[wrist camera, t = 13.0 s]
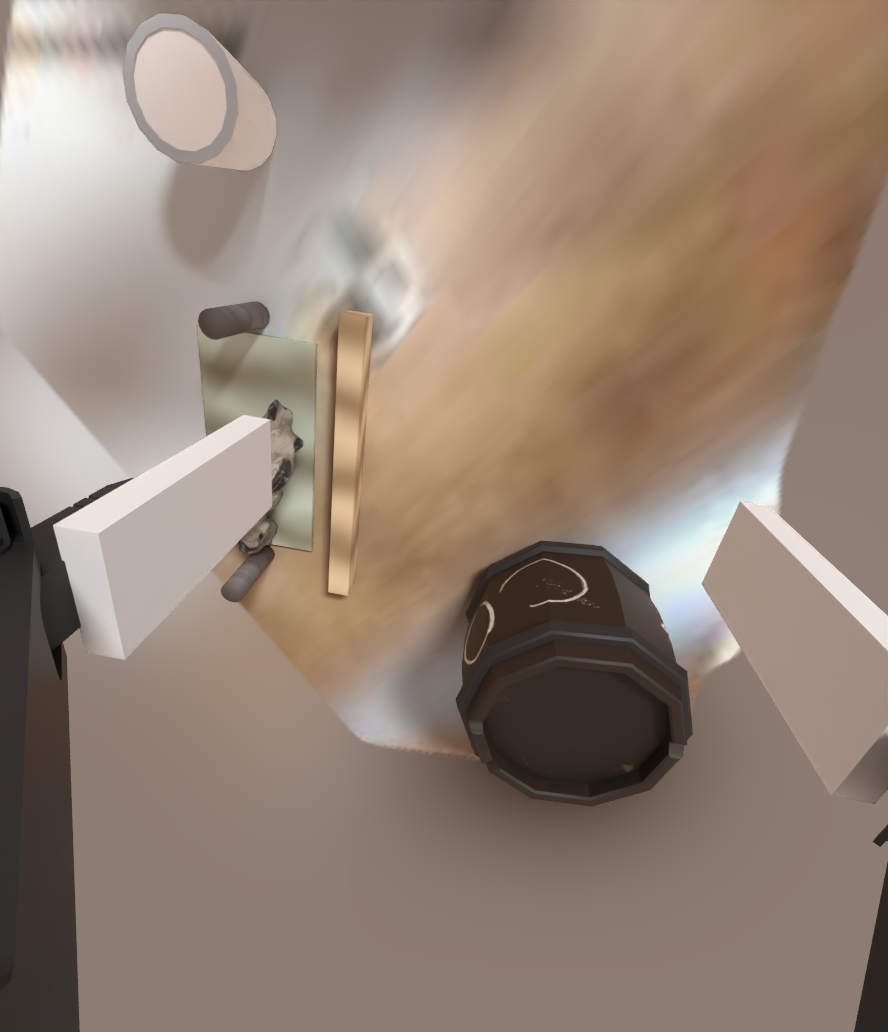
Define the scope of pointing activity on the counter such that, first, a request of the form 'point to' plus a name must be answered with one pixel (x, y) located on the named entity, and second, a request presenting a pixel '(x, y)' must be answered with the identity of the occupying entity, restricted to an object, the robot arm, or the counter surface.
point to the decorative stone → (274, 473)
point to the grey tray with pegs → (292, 381)
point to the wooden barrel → (571, 677)
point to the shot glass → (196, 96)
